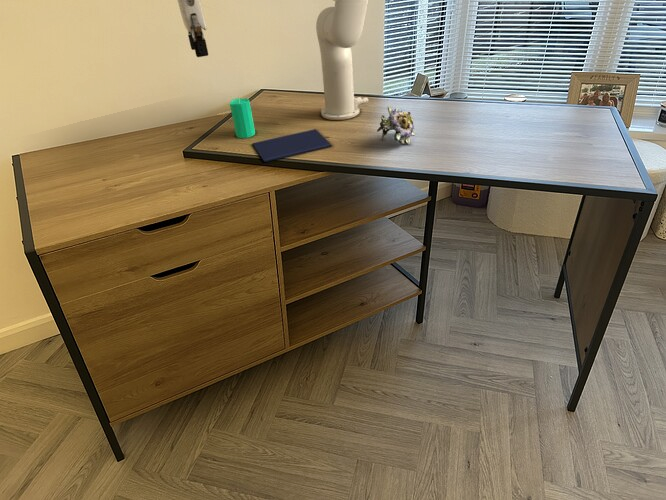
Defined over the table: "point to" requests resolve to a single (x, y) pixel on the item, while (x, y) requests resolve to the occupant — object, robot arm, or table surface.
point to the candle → (242, 117)
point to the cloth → (291, 145)
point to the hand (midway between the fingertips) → (199, 52)
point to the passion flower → (398, 125)
